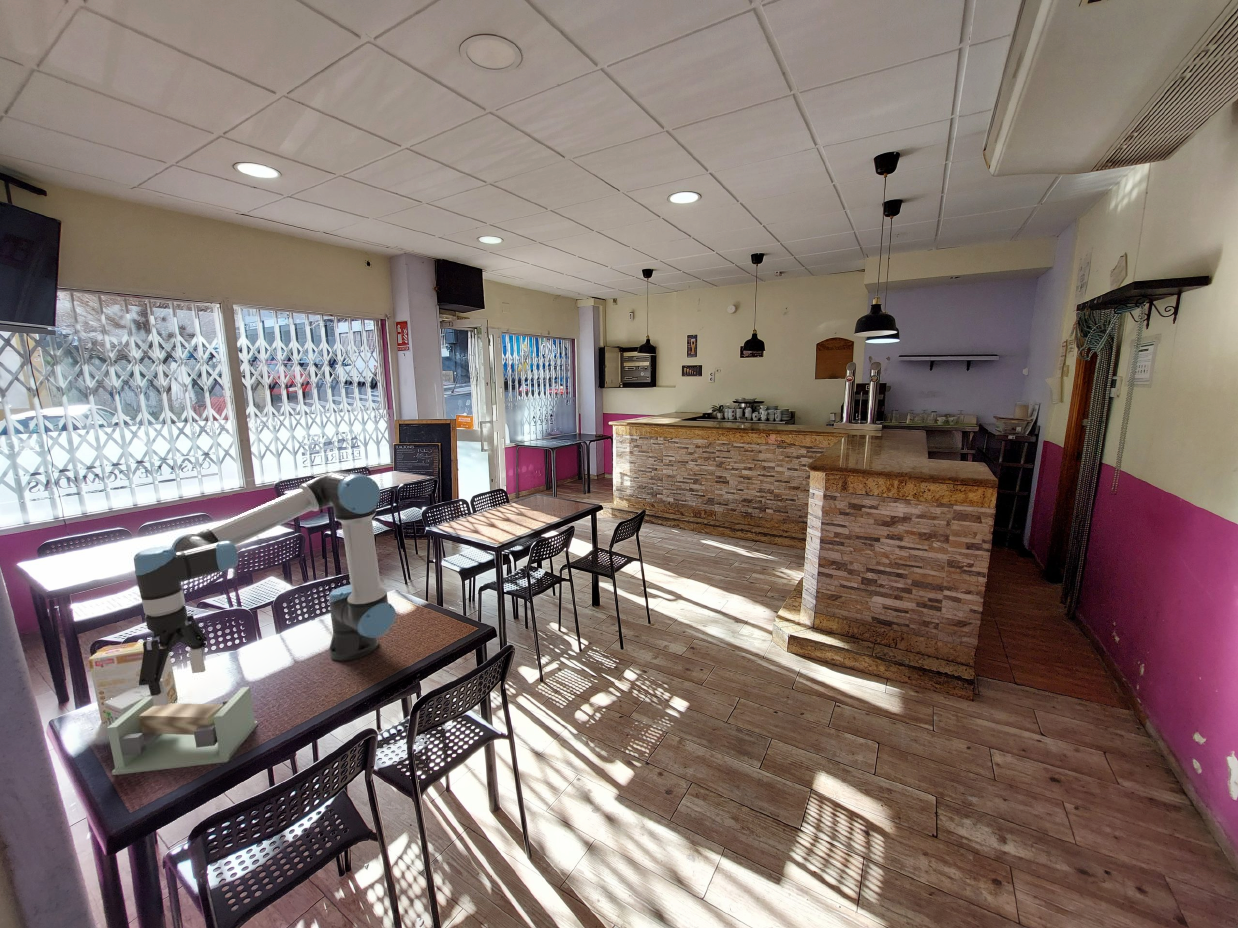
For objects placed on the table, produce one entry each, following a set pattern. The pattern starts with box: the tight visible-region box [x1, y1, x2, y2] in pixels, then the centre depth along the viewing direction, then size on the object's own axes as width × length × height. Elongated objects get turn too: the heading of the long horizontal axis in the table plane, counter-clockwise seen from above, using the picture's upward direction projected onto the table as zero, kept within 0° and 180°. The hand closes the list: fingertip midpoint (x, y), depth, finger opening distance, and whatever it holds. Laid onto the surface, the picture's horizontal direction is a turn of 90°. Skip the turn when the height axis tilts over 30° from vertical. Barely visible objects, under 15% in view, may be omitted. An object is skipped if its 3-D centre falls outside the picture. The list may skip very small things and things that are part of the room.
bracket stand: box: [106, 686, 259, 776], centre depth 128 cm, size 25×14×12 cm, turn 99°
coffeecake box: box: [87, 639, 178, 723], centre depth 144 cm, size 15×7×20 cm, turn 110°
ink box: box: [104, 685, 151, 727], centre depth 134 cm, size 8×8×12 cm
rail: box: [139, 702, 224, 735], centre depth 128 cm, size 18×5×5 cm, turn 87°
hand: (181, 687), depth 127 cm, fingers open, 13 cm apart
